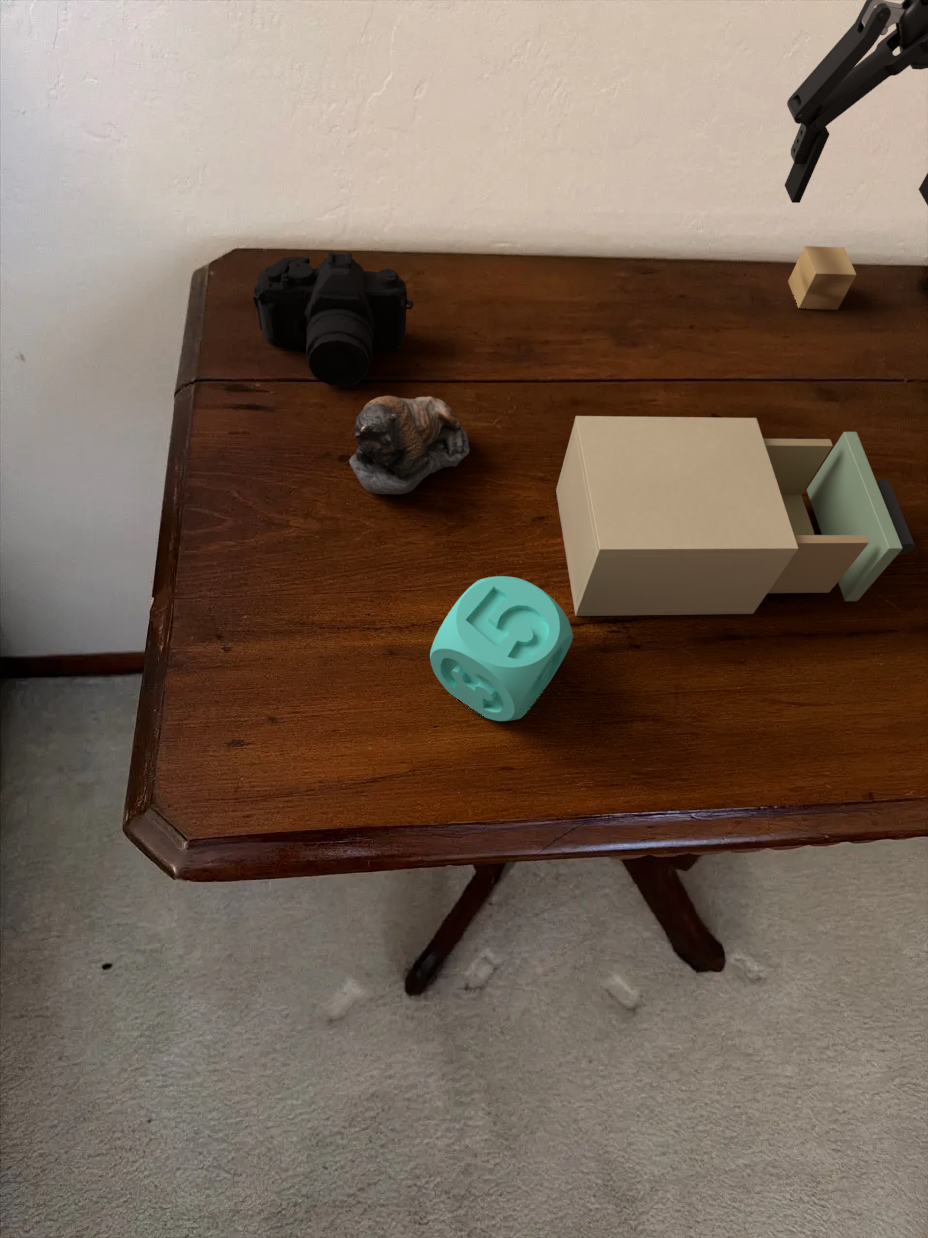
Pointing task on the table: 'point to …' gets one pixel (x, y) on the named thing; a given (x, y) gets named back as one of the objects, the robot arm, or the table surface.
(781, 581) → the drawer
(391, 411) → the bison figurine
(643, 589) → the cabinet
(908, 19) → the robot arm
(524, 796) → the table surface
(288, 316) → the film camera
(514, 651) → the decorative dice
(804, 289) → the block
